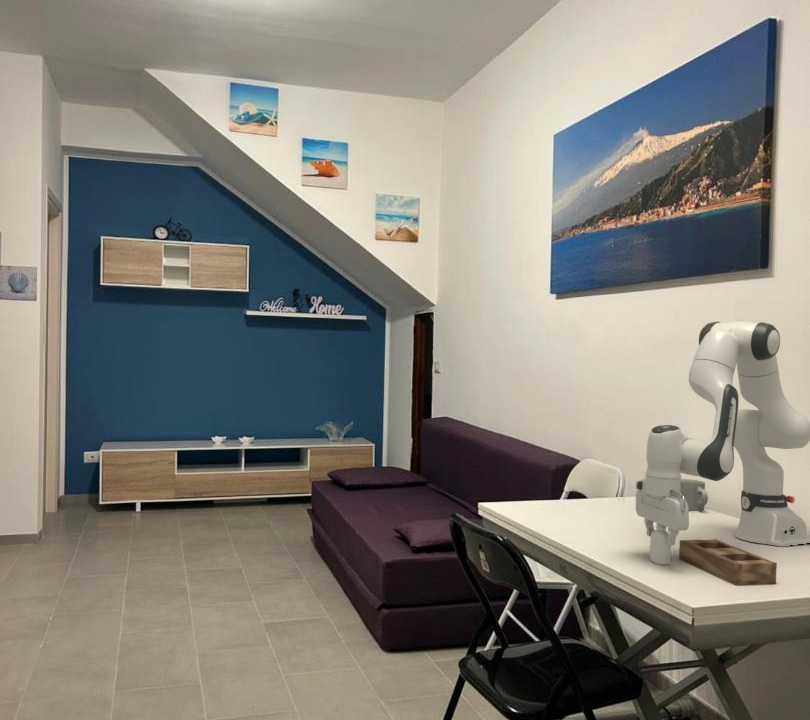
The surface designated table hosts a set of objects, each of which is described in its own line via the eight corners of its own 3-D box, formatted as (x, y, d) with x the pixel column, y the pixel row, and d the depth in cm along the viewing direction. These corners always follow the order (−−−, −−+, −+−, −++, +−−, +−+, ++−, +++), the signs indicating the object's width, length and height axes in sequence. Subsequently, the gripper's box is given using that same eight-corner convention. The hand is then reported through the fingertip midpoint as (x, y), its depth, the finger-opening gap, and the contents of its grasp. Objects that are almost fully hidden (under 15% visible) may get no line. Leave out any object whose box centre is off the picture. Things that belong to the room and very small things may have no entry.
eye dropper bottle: (665, 560, 209) (666, 515, 209) (671, 565, 203) (673, 519, 203) (648, 559, 209) (650, 514, 209) (654, 565, 203) (656, 518, 203)
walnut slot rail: (715, 557, 213) (716, 539, 213) (775, 583, 190) (776, 563, 190) (679, 558, 211) (679, 540, 211) (735, 585, 187) (736, 564, 187)
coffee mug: (669, 506, 288) (670, 478, 288) (694, 506, 289) (695, 479, 289) (688, 513, 275) (689, 485, 275) (714, 513, 276) (715, 485, 276)
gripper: (696, 494, 196) (694, 550, 196) (653, 481, 216) (650, 531, 216) (674, 494, 195) (671, 550, 195) (632, 481, 215) (630, 531, 215)
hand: (660, 540), depth 206 cm, fingers open, 8 cm apart
